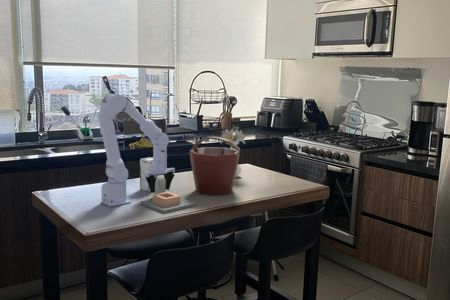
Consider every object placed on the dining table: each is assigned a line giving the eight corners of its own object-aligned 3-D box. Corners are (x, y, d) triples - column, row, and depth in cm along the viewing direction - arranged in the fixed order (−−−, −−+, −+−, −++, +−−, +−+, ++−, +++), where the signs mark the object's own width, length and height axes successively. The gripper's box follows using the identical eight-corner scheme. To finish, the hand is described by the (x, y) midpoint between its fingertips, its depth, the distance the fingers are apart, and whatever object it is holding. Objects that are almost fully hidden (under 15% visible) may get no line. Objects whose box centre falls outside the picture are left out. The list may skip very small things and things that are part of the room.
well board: (164, 213, 171) (164, 202, 170) (140, 204, 182) (140, 194, 182) (196, 205, 182) (196, 195, 181) (172, 197, 193) (172, 188, 193)
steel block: (159, 198, 192) (159, 179, 191) (154, 196, 195) (154, 178, 194) (165, 196, 194) (165, 178, 193) (160, 195, 197) (160, 177, 196)
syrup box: (149, 187, 210) (149, 156, 208) (158, 189, 207) (157, 158, 204) (139, 189, 206) (139, 158, 204) (148, 191, 202) (148, 160, 200)
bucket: (249, 193, 204) (251, 138, 200) (212, 201, 189) (213, 142, 185) (214, 182, 222) (215, 132, 218) (178, 189, 207) (178, 135, 203)
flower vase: (242, 172, 247) (243, 127, 243) (245, 180, 229) (247, 131, 225) (218, 172, 247) (219, 126, 243) (220, 179, 229) (221, 130, 225)
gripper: (151, 163, 184) (151, 195, 187) (179, 159, 194) (179, 190, 197) (141, 160, 190) (141, 192, 192) (169, 157, 199) (169, 187, 202)
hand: (160, 191), depth 194 cm, fingers open, 7 cm apart
